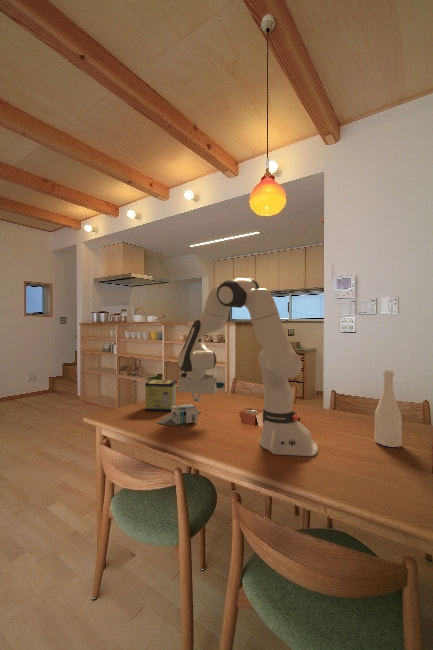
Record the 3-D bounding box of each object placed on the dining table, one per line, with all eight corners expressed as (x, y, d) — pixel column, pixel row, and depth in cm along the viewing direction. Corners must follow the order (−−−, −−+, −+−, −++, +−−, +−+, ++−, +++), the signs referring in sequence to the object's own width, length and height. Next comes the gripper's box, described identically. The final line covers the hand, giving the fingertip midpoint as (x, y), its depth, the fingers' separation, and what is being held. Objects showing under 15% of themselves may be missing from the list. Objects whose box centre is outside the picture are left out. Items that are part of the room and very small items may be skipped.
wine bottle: (385, 438, 127) (386, 368, 127) (407, 446, 118) (407, 372, 118) (369, 441, 124) (370, 369, 123) (389, 450, 115) (390, 373, 115)
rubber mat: (201, 412, 162) (201, 411, 162) (183, 426, 139) (183, 425, 139) (177, 409, 166) (177, 408, 166) (157, 423, 143) (157, 422, 143)
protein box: (149, 406, 173) (149, 379, 173) (176, 406, 173) (176, 379, 173) (144, 411, 163) (144, 383, 163) (172, 411, 162) (172, 383, 162)
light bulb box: (198, 408, 143) (176, 410, 139) (198, 422, 143) (176, 424, 139) (191, 403, 153) (170, 405, 149) (191, 416, 153) (170, 419, 149)
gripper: (218, 374, 149) (218, 401, 149) (181, 371, 155) (180, 398, 155) (214, 376, 143) (214, 404, 143) (176, 373, 149) (175, 401, 149)
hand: (196, 401), depth 149 cm, fingers closed
